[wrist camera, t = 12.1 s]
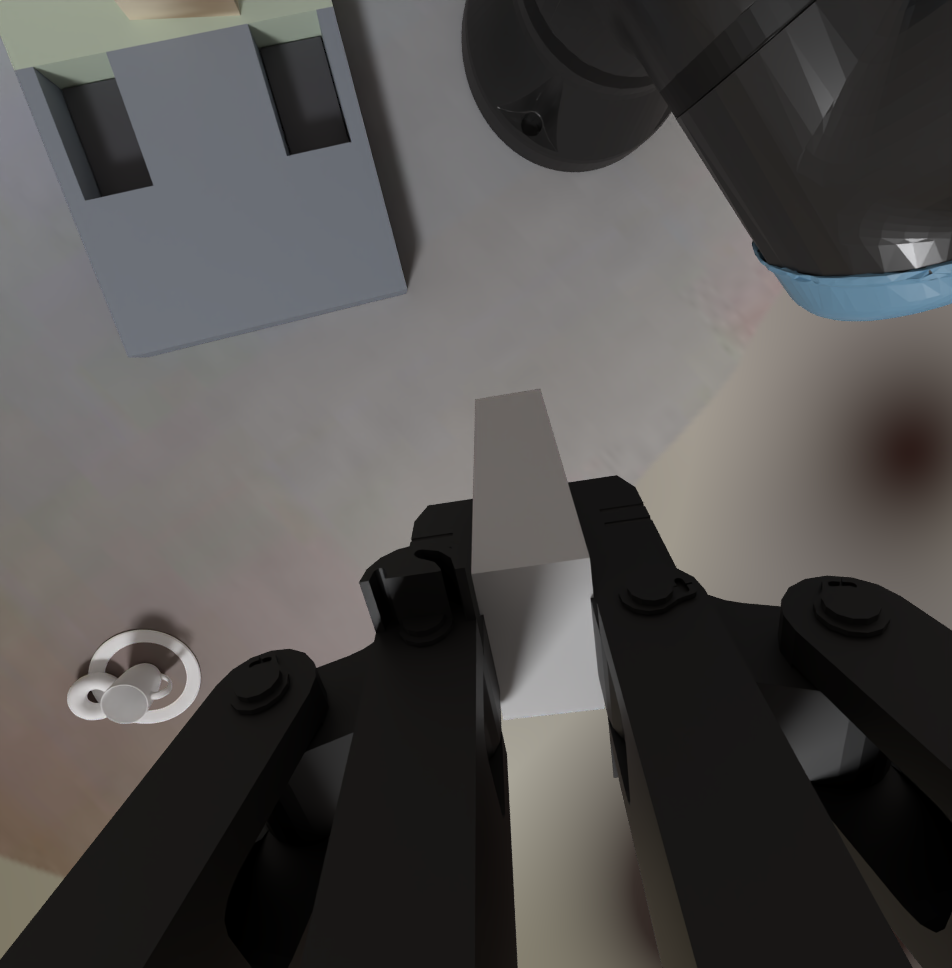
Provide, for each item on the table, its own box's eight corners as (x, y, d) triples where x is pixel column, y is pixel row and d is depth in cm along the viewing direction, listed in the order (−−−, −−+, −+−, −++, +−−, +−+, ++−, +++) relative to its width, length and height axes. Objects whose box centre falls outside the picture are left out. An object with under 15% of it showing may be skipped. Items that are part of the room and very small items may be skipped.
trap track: (406, 293, 40) (409, 281, 33) (148, 357, 38) (96, 358, 32) (291, -140, 33) (266, -264, 27) (-23, -84, 32) (-134, -200, 25)
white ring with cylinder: (74, 711, 44) (43, 747, 40) (85, 617, 42) (54, 645, 38) (195, 724, 45) (176, 760, 41) (209, 634, 44) (192, 662, 40)
